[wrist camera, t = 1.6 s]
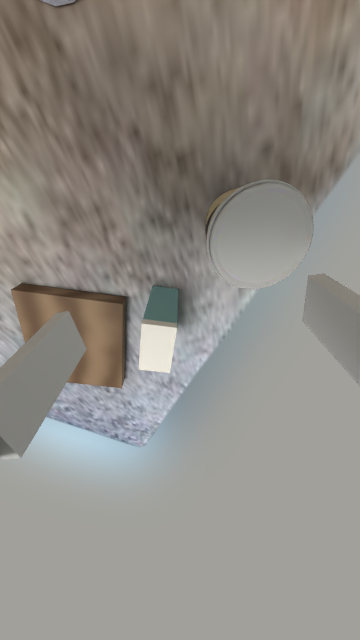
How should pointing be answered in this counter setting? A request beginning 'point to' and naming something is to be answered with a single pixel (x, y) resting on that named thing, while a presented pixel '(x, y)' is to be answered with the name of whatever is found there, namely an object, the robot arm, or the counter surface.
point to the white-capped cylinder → (258, 233)
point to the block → (159, 330)
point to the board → (80, 328)
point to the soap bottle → (58, 2)
